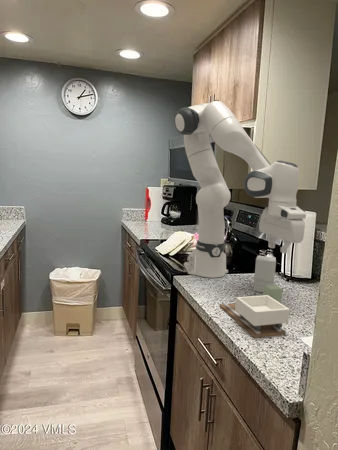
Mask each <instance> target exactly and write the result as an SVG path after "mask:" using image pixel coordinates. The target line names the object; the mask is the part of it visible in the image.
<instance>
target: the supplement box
mask: <svg viewBox="0 0 338 450" xmlns="http://www.w3.org/2000/svg"><path fill="white" fill-rule="evenodd" d="M276 258H277V257H274V256H272V257H271V256H265V255H264V256H263V255H257V256H256V258H255V267H254V277H253V292H258V293H259V292H260V293H263V291H264V285H275V275H276V266H277V259H276Z"/></svg>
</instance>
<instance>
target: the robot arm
mask: <svg viewBox="0 0 338 450" xmlns="http://www.w3.org/2000/svg"><path fill="white" fill-rule="evenodd" d="M174 125H175V129H176V131H177V132H178V133H179V134H180V135H183V144H184V149H185V154H186V157H187V161H188V164H189V167H190V169H191V173H192V175H193V177H194V178H195V180H196V181H197V183H198V185H199V187H200V189H199V190H198V192H197V193H196V196H195V201H196V205H197V212H198V222H199V223H198V239H197V240H196V245H195V249H193V250H192V251H191V252H190V253H189V255H187V261H185V262H184V263H183V266H184V268H185V270H186V272H187V274H188V275H192V276H193V275H194V276H199V277H203V278H213V279H214V278H221V277H224V276H225V275H226V274H228V273H229V269H227V255H226V253H225V252H224V251H225V244H226V243H225V231H226V230H225V229H226V224H225V216H224V213H225V212H224V208H225V207H226V206H228V204H229V203H230V201H231V195H232V194H231V191H230V189H229V187H228V185H227V183H226V180H225V178H224V176H223V174H222V172H221V169H220V168H219V164H218V162H217V160H216V157H215V154H214V153H215V152H214V150H213V146H212V144H211V142H210V136H211V138H212V140H213V141H214V143H216V145H217V146H218V147H219V148H220V149H221V150H222V151H225V152H228V153H230V154H233V155H236V156H237V157H239V158H241V159H242V160H244V161H245V162H246V163H247V164H248V166H249V167H250V168H251V170H252V171H250V172H248V173H247V174H246V175H245V178H244V181H243V188H244V191H245V192H246V194H247V195H248V196H249V197H251V198H256V199H258V198H259V199H263V198H268V206H267V207H266V206H265V208H264V209H263V211H262V213H261V215H260V220H259V224H258V225H259V226H258V229H259V232H260V233H263V234H266V238H267V241H268V245H267V246H268V248H270V249H275V248H276V243H275V239H274V238H277V239H279V240H283V241H282V243H283V244H282V246H280V248H279V249H280V253H282V254H288V249H289V247H290V246H291V244H301V243H302V241H304V238H305V237H304V235H305V227H306V226H305V221H304V219H306V217H307V213H306V211H304V210H303V209H301V208H300V207H299V206H298V205H297V202H298V201H297V193H298V190H299V184H300V171H299V166H298V165H297V164H295V163H293V162H292V161H291V162H290V161H285V160H275V161H274V162H273V163H270V162H269V160H268V159H267V158H266V156H265V155H264V154H263V153H262V151H261V150H260V148H259V147H257V145H256V144H255V143H254V142H253V140H252V138H250V136H249V135H248V133H247V132H246V131H245V129H244V127H243V125H241V123H240V121H239V120H238V119H237V117H236V115H235V114H234V113H233V111H231V109H230V108H229V107H228V106H227V105H226V104H225V103H224V102H223V101H220V100H214V101H210V102H206V103H197V104H195V105H191V106H185V107H182V108H180V109H179V110H177V111H176V112H175V116H174Z"/></svg>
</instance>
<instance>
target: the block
mask: <svg viewBox="0 0 338 450" xmlns="http://www.w3.org/2000/svg"><path fill="white" fill-rule="evenodd" d="M283 289H284V288H282V287H280V286H279V285H277V284H274V285H264V291H263V292H262V293H263V294H262V295H268V296H270V297H271V298H273V299H275V300H276V301H278V302H279V303H281V304H282V300H283V299H282V298H283Z"/></svg>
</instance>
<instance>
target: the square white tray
mask: <svg viewBox="0 0 338 450" xmlns="http://www.w3.org/2000/svg"><path fill="white" fill-rule="evenodd" d="M235 303H236V304H235V310H236V311H237V312H238V313H239V314H240V316H241V318H245V319H247V320H248V321H249V322H250V323H251V324H253V325H254V327H255V329H256V330H260V329H261V326H260V325H270V324H276V327H277V328H281V329H282V327H283V324H286V323H287V324H288V323H289V321H290V312H291V310H290V308H289V307H287V306H286V305H284V304H282V302H281V303H279V302H278V301H276V300H275V299H273V298H271V297H270V296H268V295H263V294H262V295H252V296H251V295H250V296H240V297H239V296H238V297H237V296H236V297H235Z"/></svg>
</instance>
